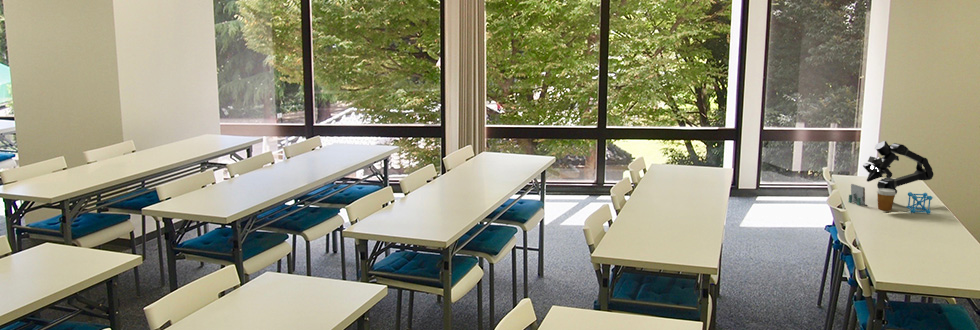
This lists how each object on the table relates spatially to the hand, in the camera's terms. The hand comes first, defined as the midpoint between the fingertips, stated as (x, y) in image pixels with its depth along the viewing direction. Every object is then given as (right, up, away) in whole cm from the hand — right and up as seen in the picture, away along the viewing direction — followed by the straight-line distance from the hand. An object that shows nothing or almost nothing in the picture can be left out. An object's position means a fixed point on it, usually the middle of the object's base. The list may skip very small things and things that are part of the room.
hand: (867, 181), depth 439 cm
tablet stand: (-3, -14, +1) cm, 14 cm away
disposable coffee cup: (+3, -17, -12) cm, 21 cm away
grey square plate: (-5, -13, +1) cm, 14 cm away
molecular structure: (+22, -17, -13) cm, 30 cm away
